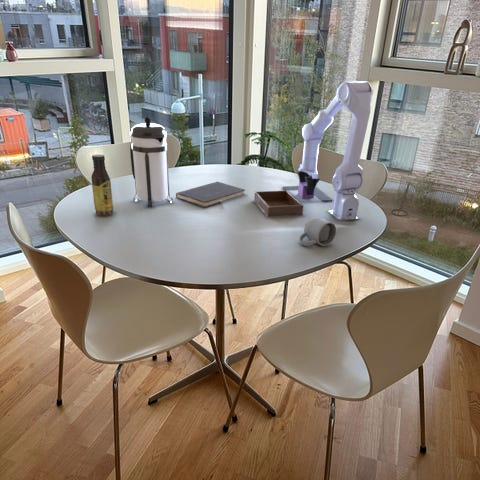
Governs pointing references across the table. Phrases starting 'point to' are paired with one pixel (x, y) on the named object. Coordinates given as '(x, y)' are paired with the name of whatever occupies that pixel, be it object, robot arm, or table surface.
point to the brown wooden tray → (278, 203)
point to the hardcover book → (209, 194)
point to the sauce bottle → (101, 187)
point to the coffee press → (150, 162)
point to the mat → (317, 193)
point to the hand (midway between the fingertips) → (306, 191)
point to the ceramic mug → (318, 232)
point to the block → (304, 190)
